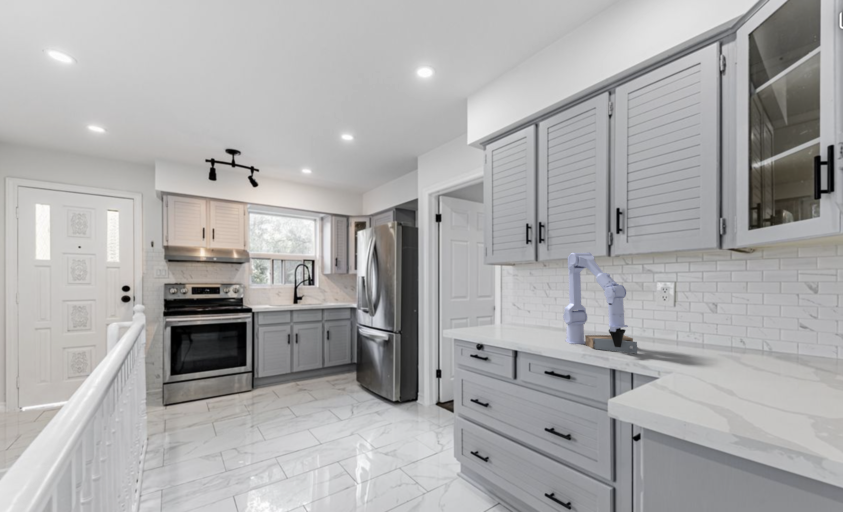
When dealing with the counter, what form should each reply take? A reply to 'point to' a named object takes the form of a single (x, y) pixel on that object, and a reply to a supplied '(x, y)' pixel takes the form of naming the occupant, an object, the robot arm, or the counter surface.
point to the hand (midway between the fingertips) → (617, 346)
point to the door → (609, 345)
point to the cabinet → (590, 338)
